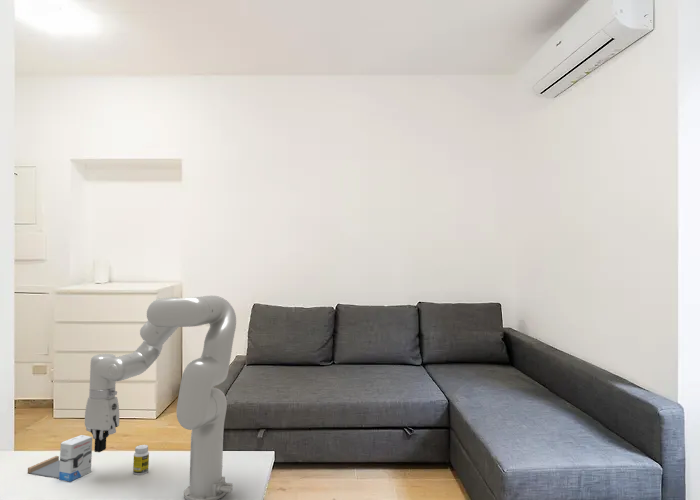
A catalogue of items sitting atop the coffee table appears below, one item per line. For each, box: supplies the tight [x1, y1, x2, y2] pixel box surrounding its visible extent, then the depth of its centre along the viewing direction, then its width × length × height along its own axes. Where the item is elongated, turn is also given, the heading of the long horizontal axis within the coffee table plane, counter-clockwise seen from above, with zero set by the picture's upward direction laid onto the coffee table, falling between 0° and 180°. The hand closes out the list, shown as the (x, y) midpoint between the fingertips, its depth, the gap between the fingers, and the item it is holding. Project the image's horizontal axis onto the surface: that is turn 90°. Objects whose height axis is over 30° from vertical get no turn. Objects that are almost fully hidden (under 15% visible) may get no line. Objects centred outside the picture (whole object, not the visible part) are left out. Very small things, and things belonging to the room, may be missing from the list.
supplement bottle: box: [132, 444, 150, 476], centre depth 165 cm, size 5×5×8 cm
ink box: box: [58, 434, 93, 483], centre depth 161 cm, size 8×5×12 cm, turn 161°
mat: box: [27, 455, 60, 480], centre depth 165 cm, size 13×11×2 cm
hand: (100, 450), depth 159 cm, fingers closed
